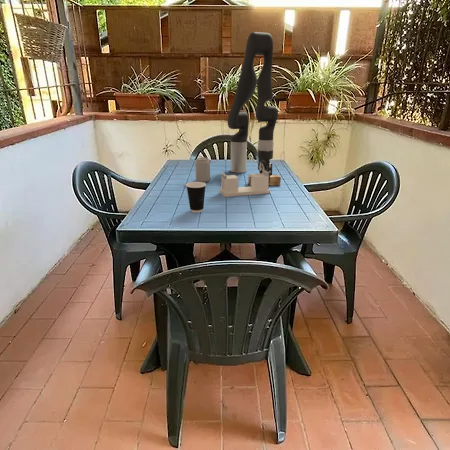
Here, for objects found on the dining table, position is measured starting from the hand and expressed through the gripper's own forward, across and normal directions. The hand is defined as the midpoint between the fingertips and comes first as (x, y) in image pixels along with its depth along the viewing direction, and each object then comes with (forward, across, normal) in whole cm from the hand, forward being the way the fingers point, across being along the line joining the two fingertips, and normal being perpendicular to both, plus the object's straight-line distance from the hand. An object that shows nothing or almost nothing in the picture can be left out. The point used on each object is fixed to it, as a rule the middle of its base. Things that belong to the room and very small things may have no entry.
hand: (264, 181), depth 177 cm
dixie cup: (+2, +31, -40) cm, 51 cm away
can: (+2, -14, -29) cm, 32 cm away
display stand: (+2, +12, -14) cm, 18 cm away
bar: (+2, 0, 0) cm, 2 cm away
